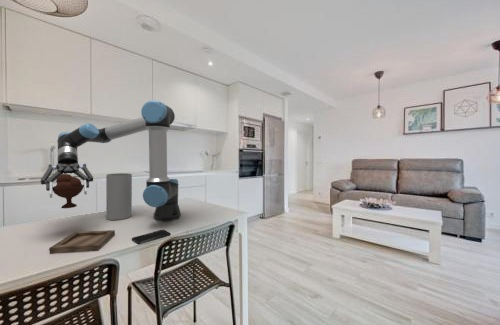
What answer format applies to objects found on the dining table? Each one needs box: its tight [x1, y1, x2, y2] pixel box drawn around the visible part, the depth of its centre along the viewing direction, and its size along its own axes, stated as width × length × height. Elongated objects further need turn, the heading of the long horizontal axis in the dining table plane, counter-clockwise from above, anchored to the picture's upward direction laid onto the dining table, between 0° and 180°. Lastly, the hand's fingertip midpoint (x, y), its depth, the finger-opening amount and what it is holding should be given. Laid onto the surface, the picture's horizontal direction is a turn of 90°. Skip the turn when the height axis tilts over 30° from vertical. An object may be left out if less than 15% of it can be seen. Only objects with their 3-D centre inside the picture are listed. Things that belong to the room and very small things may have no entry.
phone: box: [131, 229, 171, 245], centre depth 97 cm, size 8×1×15 cm
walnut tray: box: [49, 229, 116, 255], centre depth 89 cm, size 16×16×2 cm
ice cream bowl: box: [52, 173, 84, 209], centre depth 96 cm, size 11×11×15 cm
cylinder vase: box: [105, 172, 133, 221], centre depth 123 cm, size 12×12×25 cm
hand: (68, 194), depth 94 cm, fingers closed on ice cream bowl, 11 cm apart
